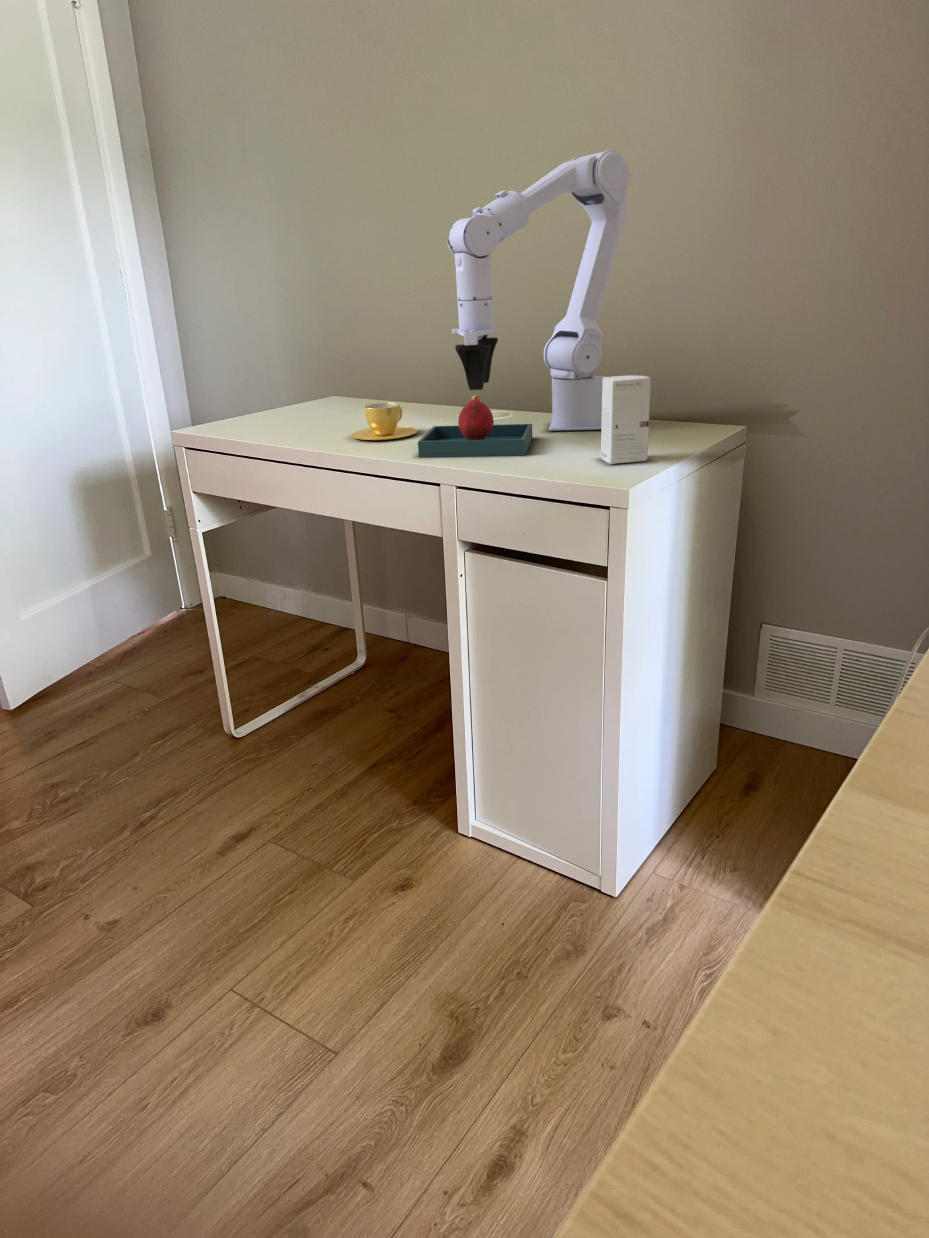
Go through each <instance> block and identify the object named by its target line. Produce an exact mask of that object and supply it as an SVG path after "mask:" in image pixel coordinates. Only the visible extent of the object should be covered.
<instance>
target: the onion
mask: <svg viewBox="0 0 929 1238" xmlns="http://www.w3.org/2000/svg"><path fill="white" fill-rule="evenodd" d="M458 415H459V416H458V422H457V424H458V426H459V429H460V431H461V433H462V434H463V435H464V437H465V438H466V439H468V440H484V439H485V438H486V437H487V436H488V435H489V434H490V432H491V431H492V428H493V425H495V424H494V423H495V422H494V416H493V413H492V411H491V409H490V408H489V407H488V406H487V404H485V403H484V402H482V401H481V400H480V396H478V395H477V394H474V395H472V396H471V399H470V401H469V402H468V403H466V404H465V405H464V406H463V407H462V409H461V411H460V413H459V414H458Z"/></svg>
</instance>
